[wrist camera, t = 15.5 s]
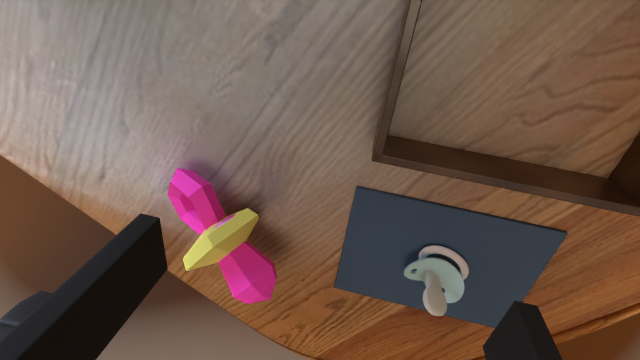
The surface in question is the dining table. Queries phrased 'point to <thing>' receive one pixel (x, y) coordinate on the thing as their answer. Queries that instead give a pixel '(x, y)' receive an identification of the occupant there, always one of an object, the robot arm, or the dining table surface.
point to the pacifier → (439, 278)
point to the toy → (222, 238)
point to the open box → (611, 194)
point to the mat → (447, 231)
